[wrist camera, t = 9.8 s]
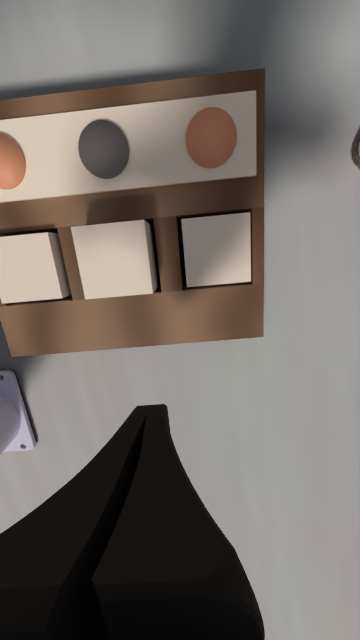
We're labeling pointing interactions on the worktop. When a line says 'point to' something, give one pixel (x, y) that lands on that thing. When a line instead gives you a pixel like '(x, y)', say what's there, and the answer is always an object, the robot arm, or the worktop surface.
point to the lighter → (356, 151)
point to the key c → (217, 249)
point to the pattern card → (128, 147)
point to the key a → (32, 268)
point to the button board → (164, 211)
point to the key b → (116, 259)
